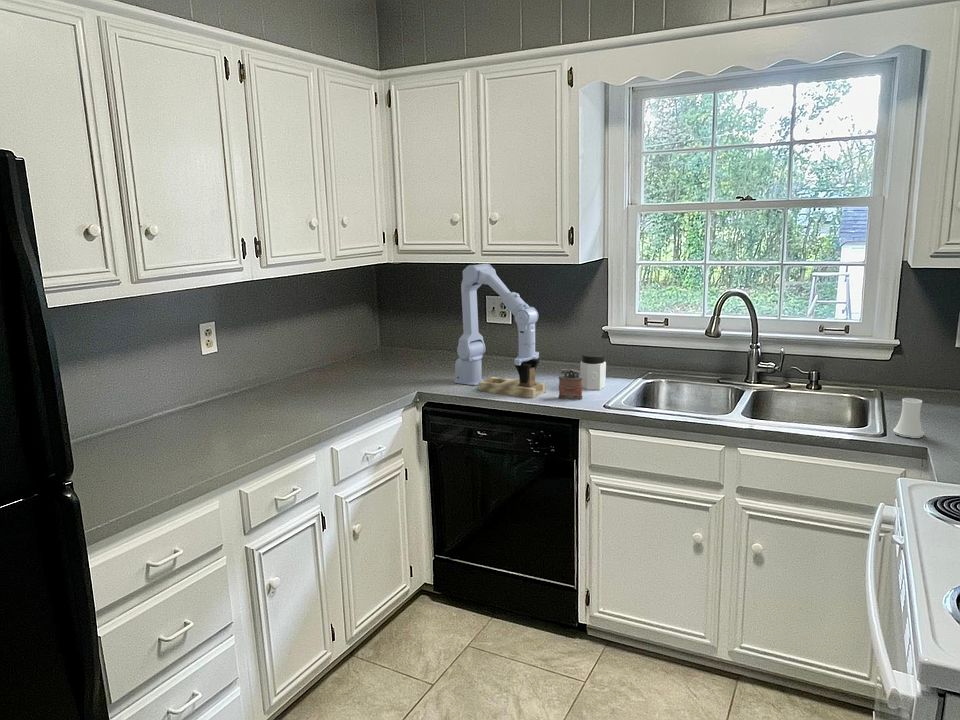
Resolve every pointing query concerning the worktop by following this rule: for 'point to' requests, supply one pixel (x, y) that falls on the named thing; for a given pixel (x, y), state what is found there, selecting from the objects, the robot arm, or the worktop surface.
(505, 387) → the wooden tray with recesses
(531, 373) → the peg
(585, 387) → the jar
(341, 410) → the worktop surface
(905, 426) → the white flared vase
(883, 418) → the worktop surface
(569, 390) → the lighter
